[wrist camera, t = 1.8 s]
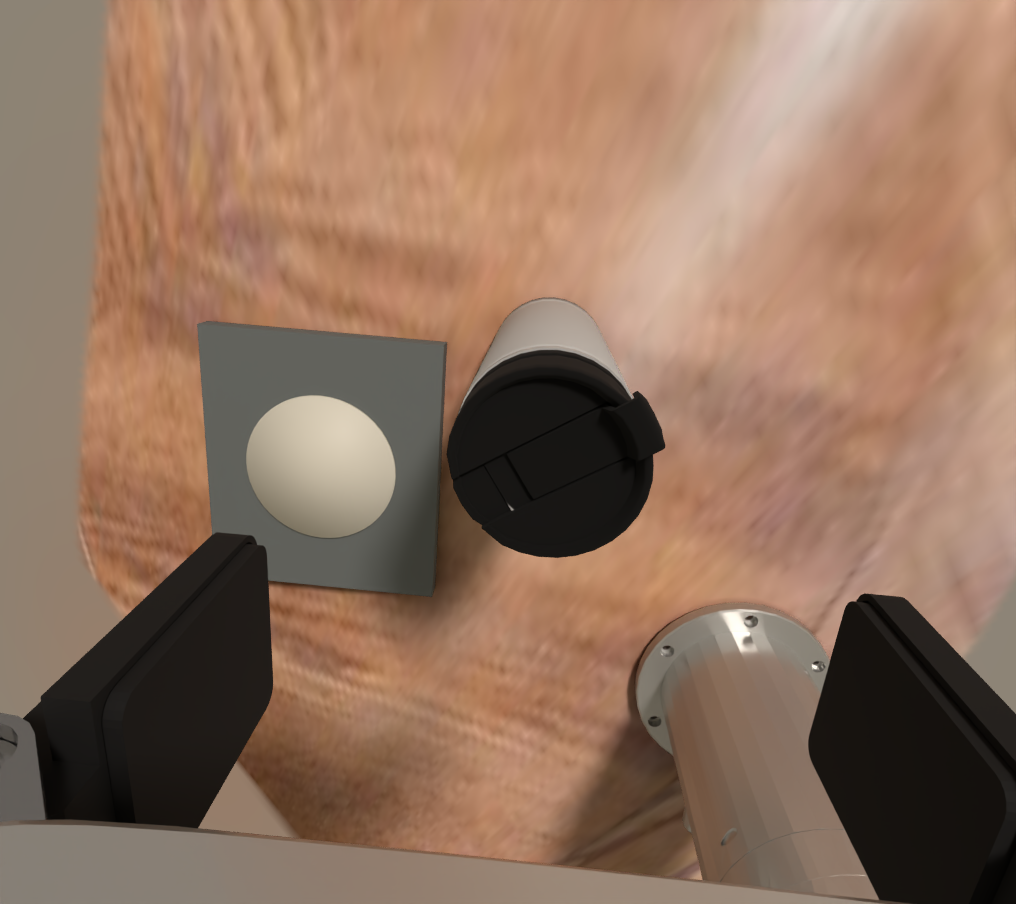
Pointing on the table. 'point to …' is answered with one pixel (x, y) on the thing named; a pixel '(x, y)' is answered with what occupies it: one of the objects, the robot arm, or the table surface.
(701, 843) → the robot arm
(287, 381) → the mat
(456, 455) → the travel mug
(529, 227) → the table surface
